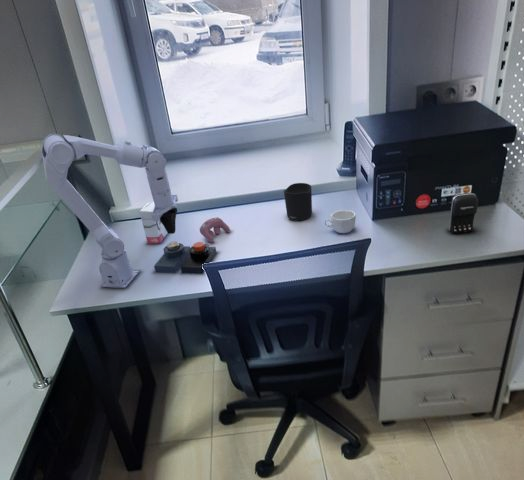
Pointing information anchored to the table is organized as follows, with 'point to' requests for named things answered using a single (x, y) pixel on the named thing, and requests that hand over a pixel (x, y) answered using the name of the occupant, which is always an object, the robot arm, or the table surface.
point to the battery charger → (463, 213)
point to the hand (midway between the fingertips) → (171, 232)
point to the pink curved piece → (215, 224)
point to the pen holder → (298, 201)
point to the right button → (198, 246)
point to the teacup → (342, 221)
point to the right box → (198, 260)
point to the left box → (172, 259)
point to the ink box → (152, 225)
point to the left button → (173, 246)
